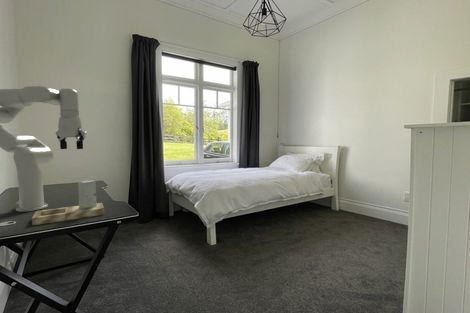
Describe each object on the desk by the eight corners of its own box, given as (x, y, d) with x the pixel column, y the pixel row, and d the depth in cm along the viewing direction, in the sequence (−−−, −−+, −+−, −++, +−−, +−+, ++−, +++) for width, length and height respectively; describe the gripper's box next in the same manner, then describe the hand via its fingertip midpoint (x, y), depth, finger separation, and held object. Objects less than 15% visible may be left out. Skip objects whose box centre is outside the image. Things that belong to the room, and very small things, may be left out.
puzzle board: (32, 225, 98) (31, 217, 98) (36, 217, 108) (36, 210, 108) (104, 214, 113) (104, 207, 112) (102, 208, 123) (102, 202, 122)
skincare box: (85, 208, 111) (84, 182, 110) (78, 207, 112) (77, 182, 111) (97, 205, 116) (96, 180, 115) (90, 204, 118) (89, 180, 117)
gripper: (48, 114, 118) (50, 149, 119) (78, 113, 115) (80, 149, 116) (62, 115, 125) (64, 148, 127) (90, 114, 122) (92, 148, 123)
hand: (71, 149), depth 121 cm, fingers open, 9 cm apart
